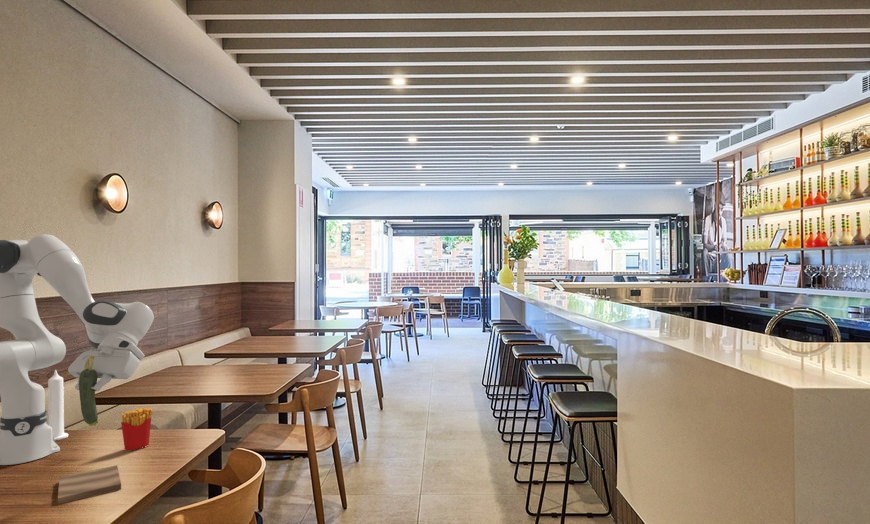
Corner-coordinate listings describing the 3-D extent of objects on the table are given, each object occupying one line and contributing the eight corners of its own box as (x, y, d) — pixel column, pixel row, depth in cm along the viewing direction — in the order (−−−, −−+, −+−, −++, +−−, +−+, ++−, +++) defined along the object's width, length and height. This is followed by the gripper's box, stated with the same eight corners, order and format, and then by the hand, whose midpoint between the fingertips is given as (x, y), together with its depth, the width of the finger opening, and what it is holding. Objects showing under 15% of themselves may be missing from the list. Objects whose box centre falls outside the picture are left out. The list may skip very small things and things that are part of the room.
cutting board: (59, 482, 144) (59, 477, 144) (117, 470, 152) (117, 465, 152) (57, 504, 130) (57, 498, 130) (121, 489, 138) (121, 483, 138)
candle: (55, 441, 180) (54, 372, 180) (39, 440, 181) (38, 371, 182) (73, 435, 187) (72, 368, 187) (57, 434, 188) (56, 367, 189)
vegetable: (84, 429, 138) (82, 357, 139) (76, 427, 141) (75, 356, 141) (101, 425, 142) (99, 354, 142) (94, 423, 144) (92, 353, 145)
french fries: (123, 452, 167) (122, 413, 167) (120, 449, 170) (120, 411, 170) (154, 445, 173) (153, 408, 173) (151, 442, 176) (150, 405, 176)
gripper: (81, 342, 151) (49, 382, 141) (137, 343, 146) (107, 384, 136) (95, 354, 155) (65, 394, 146) (149, 356, 150) (122, 397, 140)
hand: (86, 389), depth 141 cm, fingers closed on vegetable, 4 cm apart
